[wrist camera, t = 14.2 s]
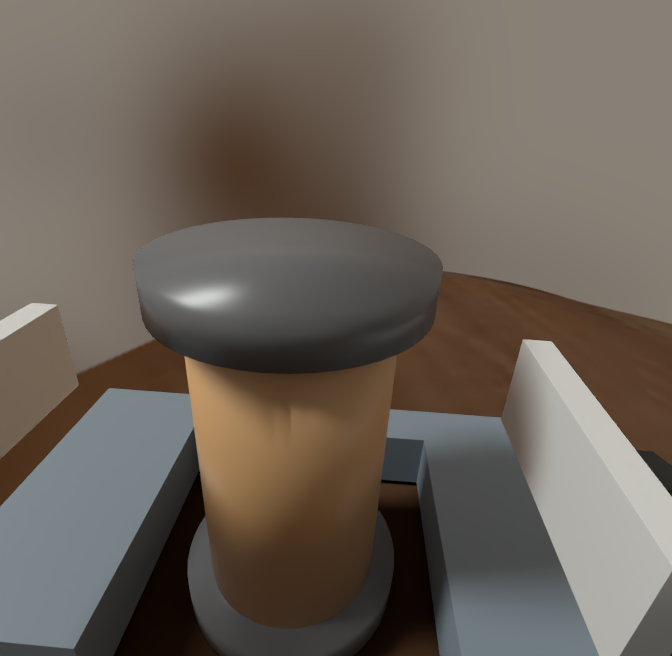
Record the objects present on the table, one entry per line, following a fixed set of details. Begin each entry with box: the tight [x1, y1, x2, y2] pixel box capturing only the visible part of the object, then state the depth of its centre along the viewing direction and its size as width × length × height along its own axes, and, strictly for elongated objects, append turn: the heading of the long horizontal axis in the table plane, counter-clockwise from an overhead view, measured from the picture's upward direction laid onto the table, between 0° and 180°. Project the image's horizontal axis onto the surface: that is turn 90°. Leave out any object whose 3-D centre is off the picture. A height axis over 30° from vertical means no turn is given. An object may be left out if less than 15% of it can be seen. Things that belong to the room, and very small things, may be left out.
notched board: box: [0, 388, 599, 656], centre depth 16 cm, size 20×11×2 cm, turn 86°
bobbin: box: [133, 218, 443, 656], centre depth 13 cm, size 7×7×12 cm
